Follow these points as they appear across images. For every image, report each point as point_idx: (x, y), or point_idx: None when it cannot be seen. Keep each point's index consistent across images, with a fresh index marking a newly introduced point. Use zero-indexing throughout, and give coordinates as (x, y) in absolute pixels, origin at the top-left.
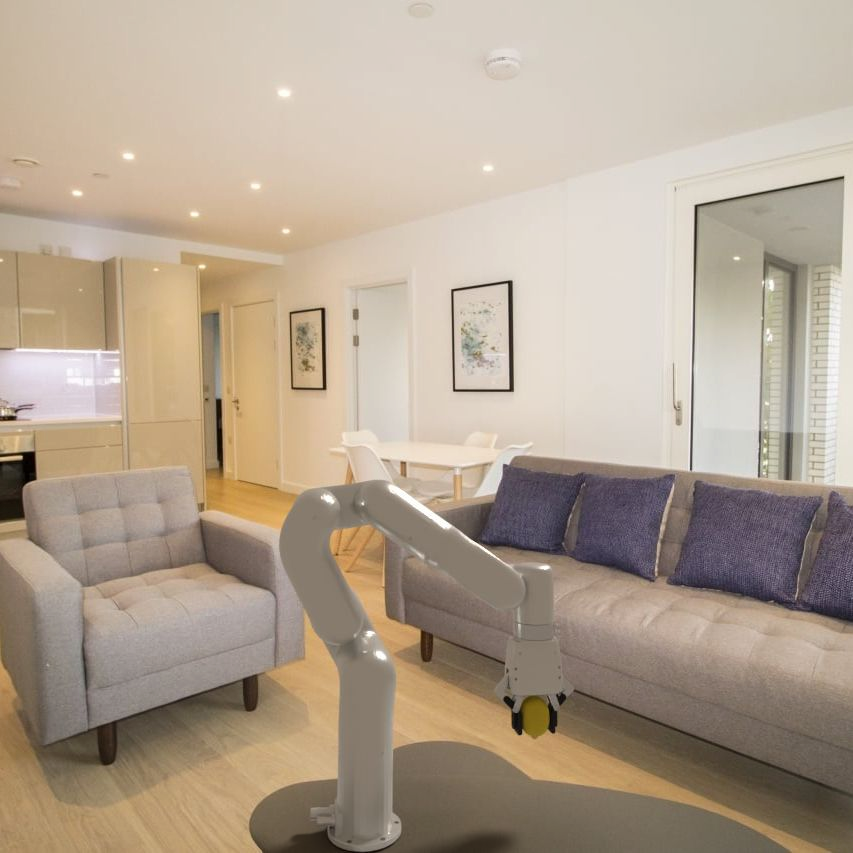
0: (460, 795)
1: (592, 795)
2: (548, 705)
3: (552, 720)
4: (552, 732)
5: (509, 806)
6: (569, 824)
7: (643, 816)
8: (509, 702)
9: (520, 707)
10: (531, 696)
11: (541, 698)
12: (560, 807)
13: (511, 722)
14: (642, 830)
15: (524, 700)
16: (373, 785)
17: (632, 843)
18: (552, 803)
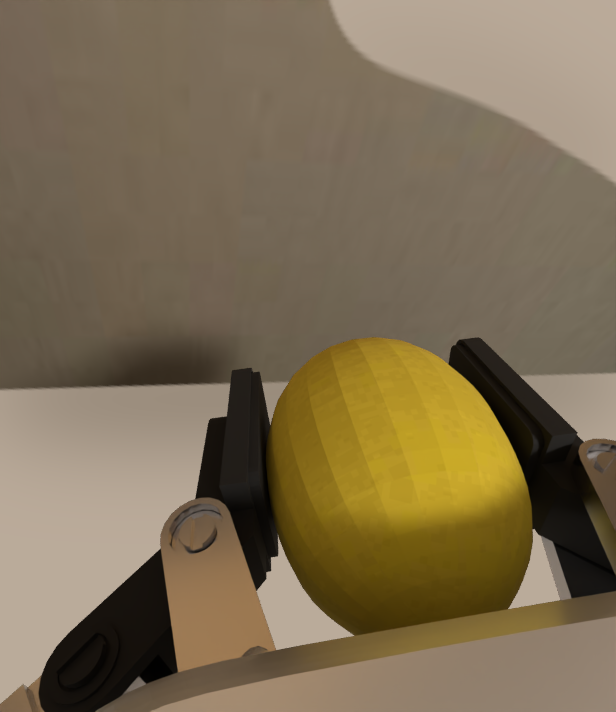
0: (47, 115)
1: (521, 141)
2: (549, 484)
3: None
4: None
5: (234, 208)
6: (379, 305)
7: (575, 271)
8: (155, 663)
9: (279, 526)
10: None
11: (509, 606)
12: (389, 219)
13: (207, 430)
14: (528, 328)
15: (326, 597)
16: None
17: None
18: (374, 193)
